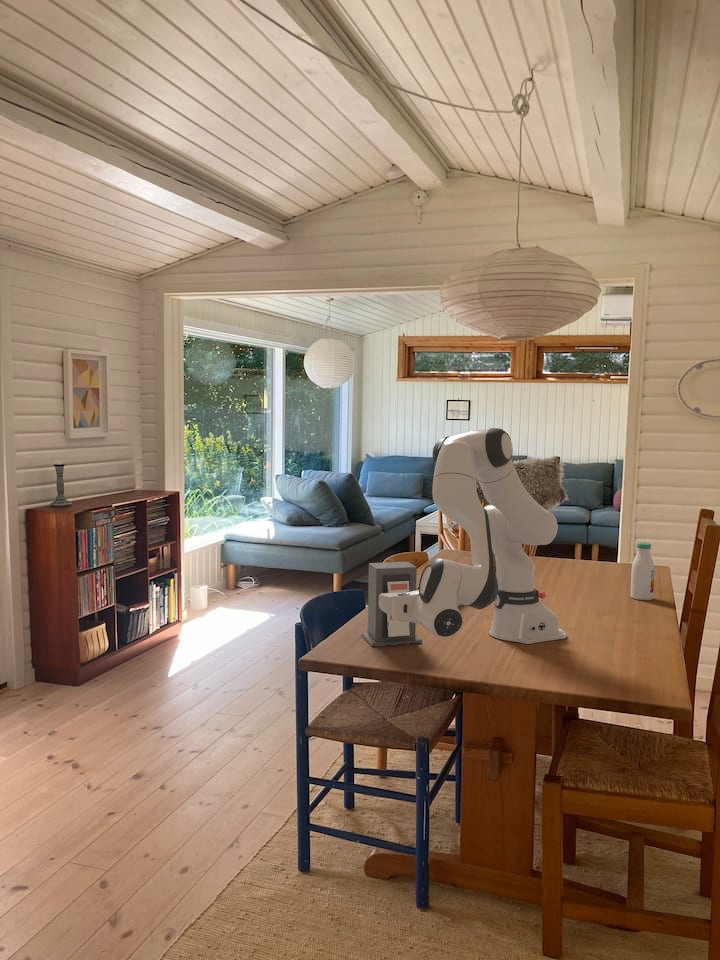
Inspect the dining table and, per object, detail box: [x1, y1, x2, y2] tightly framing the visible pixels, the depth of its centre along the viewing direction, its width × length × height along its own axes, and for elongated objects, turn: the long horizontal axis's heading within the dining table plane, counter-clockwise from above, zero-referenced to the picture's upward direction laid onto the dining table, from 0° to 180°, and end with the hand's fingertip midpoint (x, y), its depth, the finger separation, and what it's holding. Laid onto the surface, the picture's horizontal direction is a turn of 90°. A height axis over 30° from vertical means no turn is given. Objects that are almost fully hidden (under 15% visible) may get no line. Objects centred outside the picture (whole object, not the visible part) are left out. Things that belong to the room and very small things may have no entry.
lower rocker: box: [387, 614, 410, 637], centre depth 220 cm, size 6×1×7 cm, turn 105°
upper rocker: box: [387, 581, 409, 593], centre depth 219 cm, size 6×1×7 cm, turn 105°
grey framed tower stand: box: [361, 561, 423, 647], centre depth 225 cm, size 15×11×22 cm
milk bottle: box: [630, 542, 655, 601], centre depth 279 cm, size 8×8×20 cm
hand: (409, 594), depth 209 cm, fingers closed
